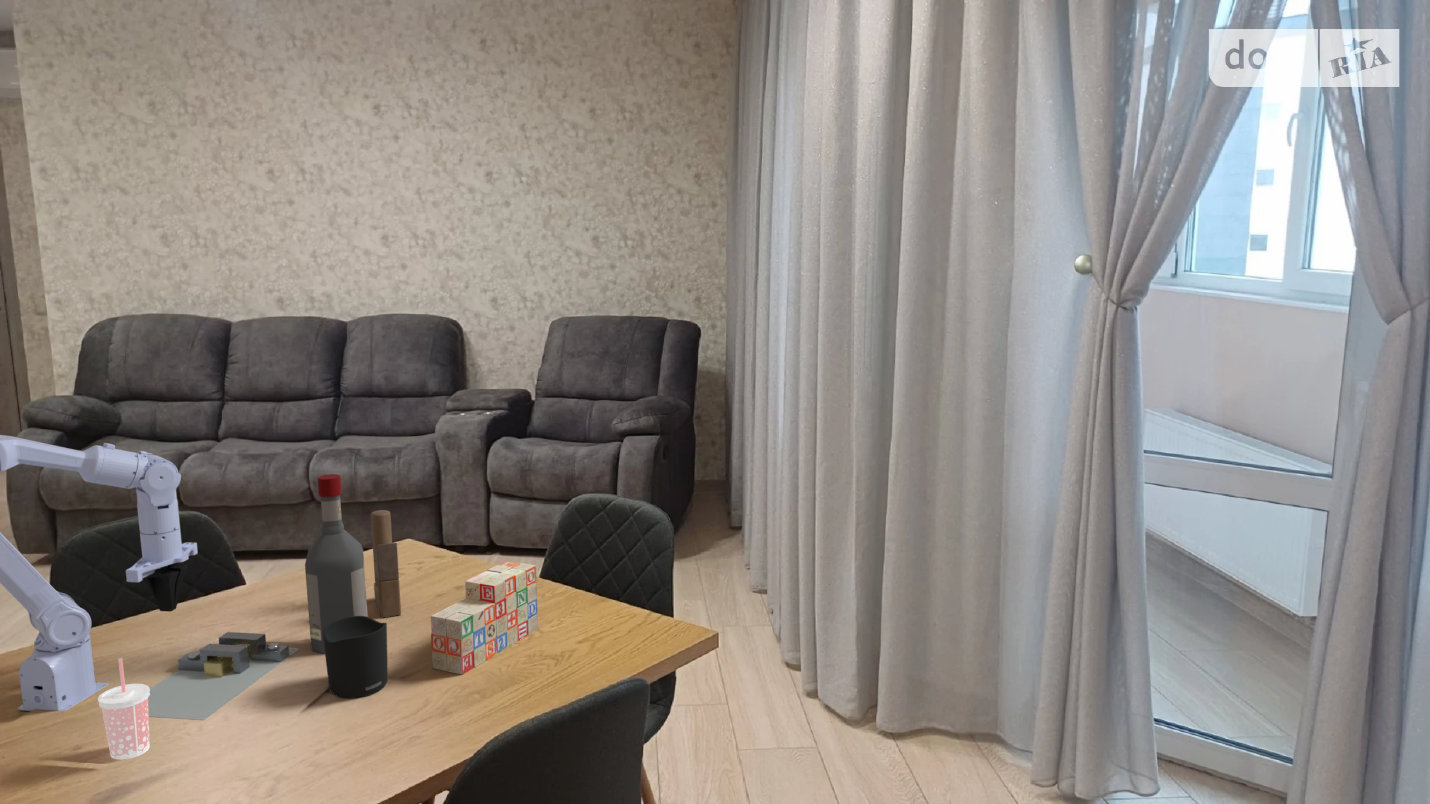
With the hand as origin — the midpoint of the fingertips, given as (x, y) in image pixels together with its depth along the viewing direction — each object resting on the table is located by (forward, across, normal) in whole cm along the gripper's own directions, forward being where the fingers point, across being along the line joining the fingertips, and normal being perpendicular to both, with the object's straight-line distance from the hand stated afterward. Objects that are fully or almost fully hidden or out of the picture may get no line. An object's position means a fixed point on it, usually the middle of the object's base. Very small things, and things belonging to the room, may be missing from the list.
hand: (168, 609), depth 165 cm
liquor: (+10, +12, -23) cm, 28 cm away
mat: (+10, -4, -10) cm, 15 cm away
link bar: (+9, +2, -10) cm, 14 cm away
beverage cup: (+10, -27, -13) cm, 32 cm away
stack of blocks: (+10, +14, -49) cm, 52 cm away
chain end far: (+9, +4, -12) cm, 16 cm away
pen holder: (+10, -3, -34) cm, 36 cm away
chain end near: (+9, -1, -8) cm, 12 cm away
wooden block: (+10, +30, -23) cm, 39 cm away
